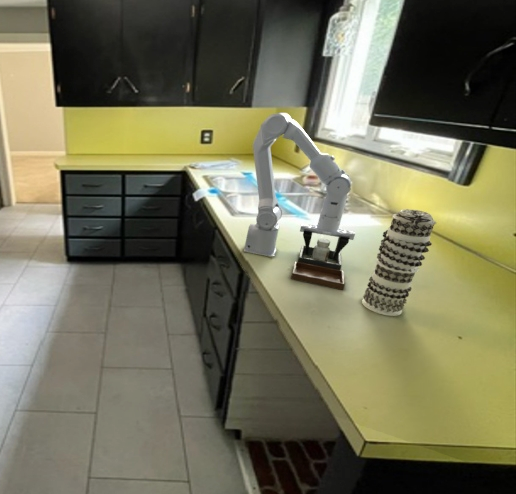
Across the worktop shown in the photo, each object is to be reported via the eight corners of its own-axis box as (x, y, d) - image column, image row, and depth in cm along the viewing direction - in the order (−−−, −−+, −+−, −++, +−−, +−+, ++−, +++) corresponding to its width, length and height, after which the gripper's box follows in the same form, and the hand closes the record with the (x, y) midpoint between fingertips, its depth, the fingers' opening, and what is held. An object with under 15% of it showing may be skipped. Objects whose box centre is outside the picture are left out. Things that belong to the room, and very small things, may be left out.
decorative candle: (377, 317, 88) (414, 219, 77) (352, 297, 96) (381, 206, 86) (413, 316, 88) (454, 218, 78) (384, 296, 97) (417, 206, 86)
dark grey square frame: (297, 265, 113) (299, 257, 112) (299, 253, 122) (301, 244, 121) (338, 274, 108) (341, 265, 107) (338, 260, 117) (340, 251, 116)
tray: (290, 278, 106) (292, 273, 105) (293, 266, 113) (295, 261, 112) (342, 290, 100) (344, 284, 99) (342, 276, 107) (344, 270, 106)
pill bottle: (327, 266, 113) (334, 243, 110) (312, 265, 114) (318, 242, 111) (323, 260, 117) (329, 238, 114) (308, 259, 118) (314, 237, 115)
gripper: (303, 214, 109) (293, 255, 114) (360, 222, 102) (346, 266, 108) (305, 208, 114) (295, 248, 120) (358, 216, 108) (346, 257, 114)
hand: (320, 256), depth 114 cm, fingers open, 7 cm apart
